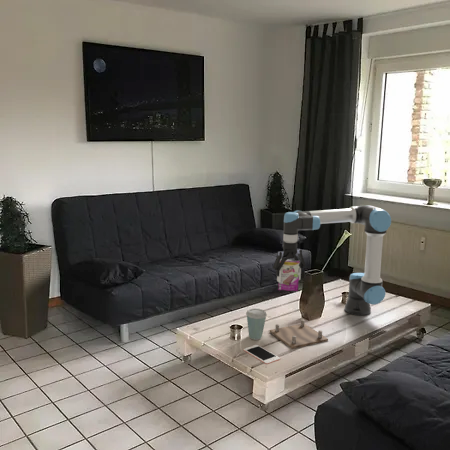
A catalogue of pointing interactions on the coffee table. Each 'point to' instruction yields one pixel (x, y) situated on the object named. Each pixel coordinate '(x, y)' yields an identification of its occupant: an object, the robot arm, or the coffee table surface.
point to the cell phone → (262, 354)
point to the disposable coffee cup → (256, 322)
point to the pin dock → (298, 335)
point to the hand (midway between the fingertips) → (288, 280)
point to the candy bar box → (289, 276)
